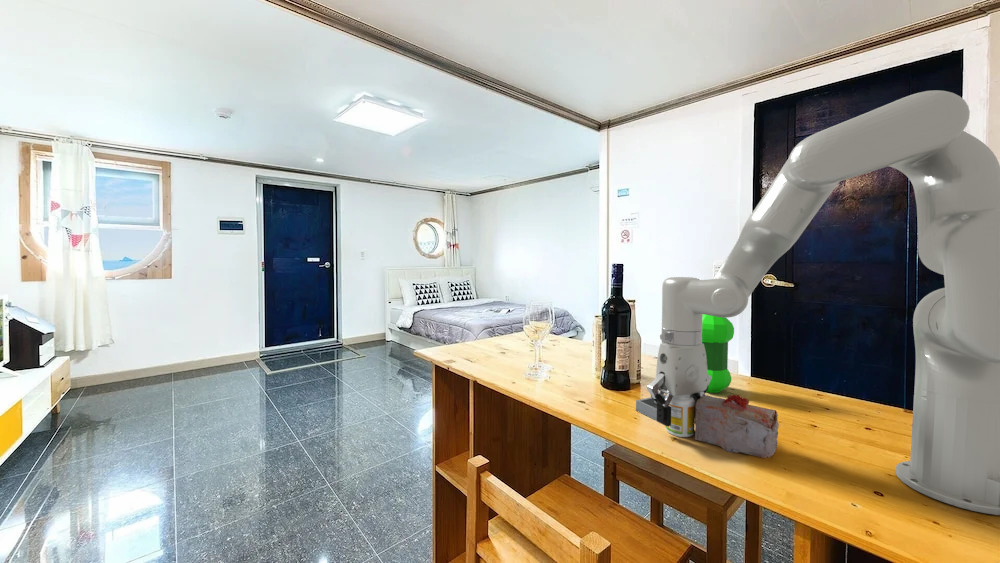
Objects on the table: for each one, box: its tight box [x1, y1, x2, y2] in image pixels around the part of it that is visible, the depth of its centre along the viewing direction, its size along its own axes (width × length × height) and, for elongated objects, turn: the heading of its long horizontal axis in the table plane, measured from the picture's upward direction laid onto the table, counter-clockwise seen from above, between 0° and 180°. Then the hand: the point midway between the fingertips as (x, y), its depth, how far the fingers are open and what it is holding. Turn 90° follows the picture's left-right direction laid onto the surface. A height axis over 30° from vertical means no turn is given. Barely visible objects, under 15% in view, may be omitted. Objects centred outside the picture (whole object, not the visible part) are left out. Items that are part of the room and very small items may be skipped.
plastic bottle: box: [702, 314, 735, 394], centre depth 104 cm, size 10×10×25 cm
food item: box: [694, 394, 780, 459], centre depth 74 cm, size 14×8×10 cm, turn 50°
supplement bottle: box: [665, 394, 696, 438], centre depth 80 cm, size 5×5×10 cm
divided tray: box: [635, 393, 696, 426], centre depth 91 cm, size 9×17×2 cm, turn 113°
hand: (679, 419), depth 80 cm, fingers open, 8 cm apart
